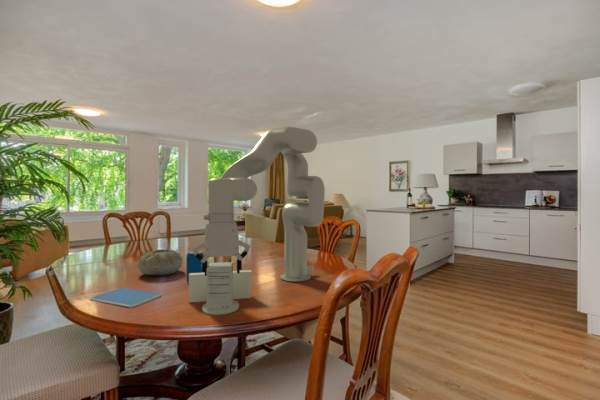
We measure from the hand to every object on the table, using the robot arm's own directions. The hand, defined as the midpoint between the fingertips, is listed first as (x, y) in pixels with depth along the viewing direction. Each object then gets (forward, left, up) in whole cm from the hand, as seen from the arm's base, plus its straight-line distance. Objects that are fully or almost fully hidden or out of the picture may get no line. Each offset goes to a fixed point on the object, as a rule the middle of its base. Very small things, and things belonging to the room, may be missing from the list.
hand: (222, 273), depth 96 cm
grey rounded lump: (-1, -53, -11) cm, 54 cm away
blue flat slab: (+18, -30, -11) cm, 37 cm away
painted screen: (-4, -7, -11) cm, 13 cm away
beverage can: (-6, -31, -11) cm, 33 cm away
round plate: (+1, 0, -11) cm, 11 cm away
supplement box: (+1, 0, -10) cm, 10 cm away
